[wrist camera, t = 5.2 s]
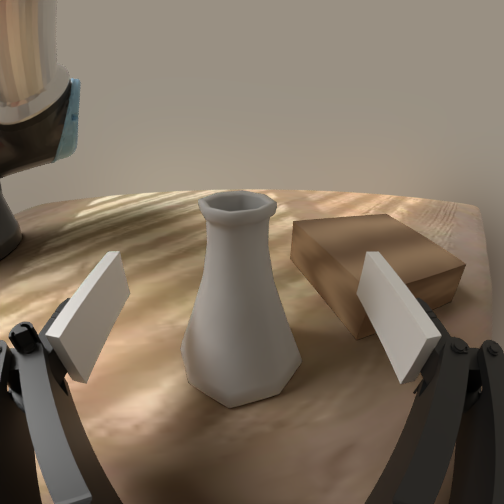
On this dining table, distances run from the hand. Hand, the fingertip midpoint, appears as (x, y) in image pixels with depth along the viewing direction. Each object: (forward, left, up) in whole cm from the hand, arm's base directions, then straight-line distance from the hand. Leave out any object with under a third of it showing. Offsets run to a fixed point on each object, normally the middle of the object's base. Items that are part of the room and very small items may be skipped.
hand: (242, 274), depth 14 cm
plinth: (-4, +14, -6) cm, 15 cm away
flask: (+1, 0, -6) cm, 6 cm away
